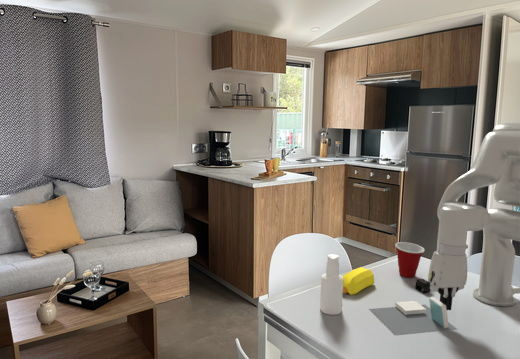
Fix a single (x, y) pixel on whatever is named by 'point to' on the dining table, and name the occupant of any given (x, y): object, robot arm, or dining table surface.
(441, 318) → the tile
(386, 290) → the dining table surface
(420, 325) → the mat
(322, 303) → the spray bottle
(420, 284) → the black slotted bracket
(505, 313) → the dining table surface
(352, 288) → the yellow faceted bar
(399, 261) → the plastic cup
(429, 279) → the robot arm
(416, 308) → the tile
